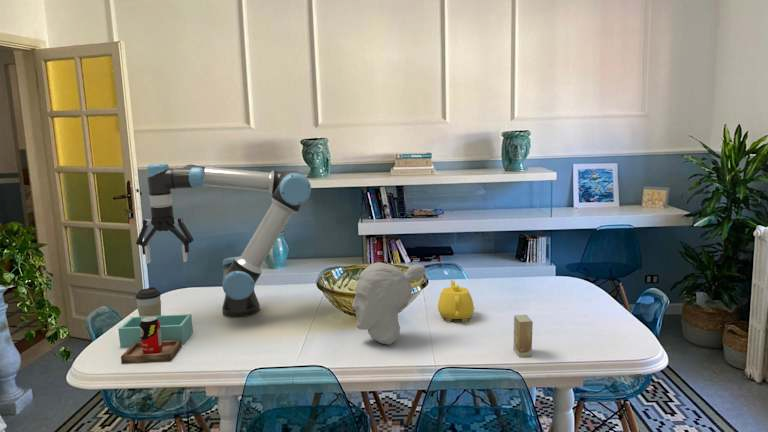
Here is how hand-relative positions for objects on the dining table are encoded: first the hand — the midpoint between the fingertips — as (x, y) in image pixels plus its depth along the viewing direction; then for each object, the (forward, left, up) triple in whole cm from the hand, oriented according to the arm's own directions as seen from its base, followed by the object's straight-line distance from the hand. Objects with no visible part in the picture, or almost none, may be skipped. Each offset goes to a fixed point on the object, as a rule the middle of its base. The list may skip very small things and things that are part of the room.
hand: (167, 262), depth 209 cm
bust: (-82, +20, -27) cm, 88 cm away
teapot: (-108, 0, -27) cm, 112 cm away
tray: (0, +23, -27) cm, 35 cm away
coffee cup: (+10, -5, -27) cm, 29 cm away
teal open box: (+3, +9, -27) cm, 28 cm away
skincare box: (-124, +37, -27) cm, 132 cm away
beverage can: (0, +23, -26) cm, 35 cm away
